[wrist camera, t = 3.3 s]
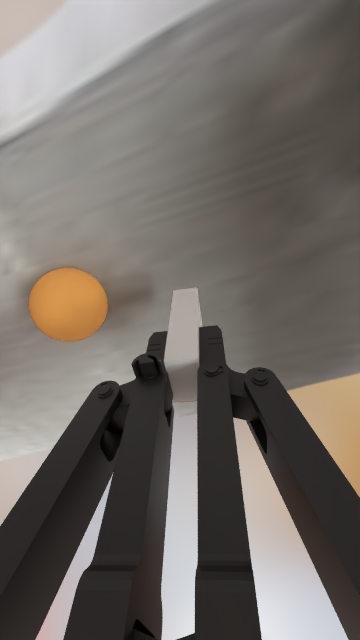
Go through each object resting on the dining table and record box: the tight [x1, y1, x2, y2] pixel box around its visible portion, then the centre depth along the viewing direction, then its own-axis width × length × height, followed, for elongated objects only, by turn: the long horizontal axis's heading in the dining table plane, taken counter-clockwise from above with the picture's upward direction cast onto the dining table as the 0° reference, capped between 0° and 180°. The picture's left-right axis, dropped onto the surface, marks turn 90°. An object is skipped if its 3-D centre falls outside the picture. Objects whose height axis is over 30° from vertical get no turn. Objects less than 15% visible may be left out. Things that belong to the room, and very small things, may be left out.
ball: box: [29, 268, 108, 341], centre depth 21 cm, size 6×6×6 cm
